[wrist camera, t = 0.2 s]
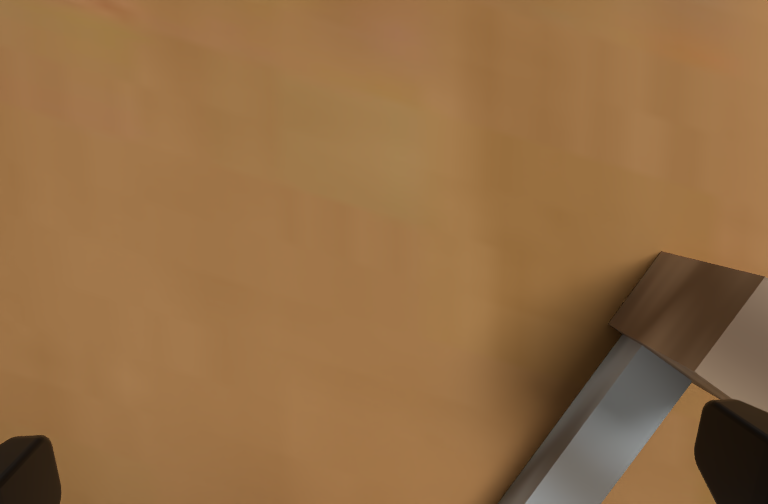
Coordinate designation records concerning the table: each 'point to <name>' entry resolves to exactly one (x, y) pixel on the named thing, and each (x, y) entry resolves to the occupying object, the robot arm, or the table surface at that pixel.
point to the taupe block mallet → (654, 375)
